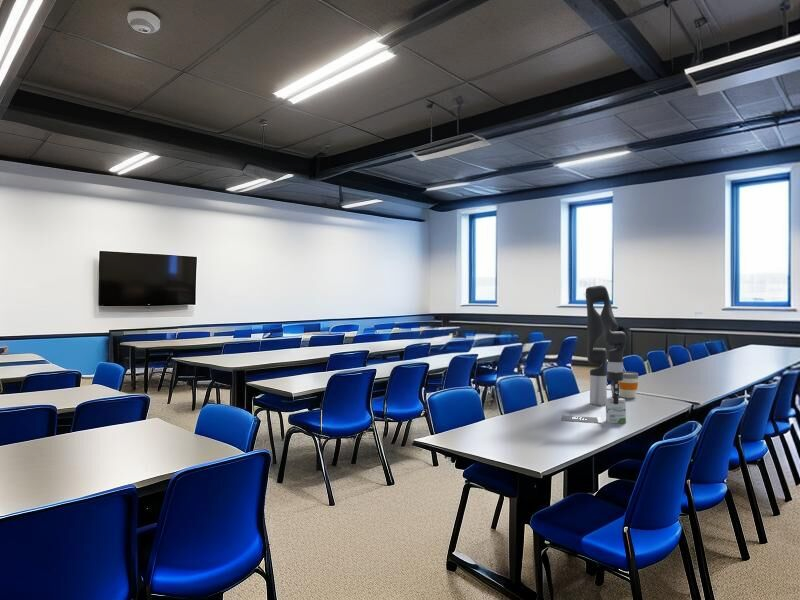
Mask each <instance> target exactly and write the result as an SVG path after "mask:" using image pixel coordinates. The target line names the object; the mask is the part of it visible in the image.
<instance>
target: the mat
mask: <svg viewBox="0 0 800 600" xmlns="http://www.w3.org/2000/svg"><path fill="white" fill-rule="evenodd" d="M573 416H574V415H565V414H562V415H561V421H562V420H565V421H564V422H574V421H581V422H580V423H588V422H594V423H593V424H603V423H602V418H601V417H600V416H598V417H593V416H580V415H579V416H580V417H582V418H581V420H580V419H579V418H580V417H578V419H572V417H573ZM576 418H577V417H576ZM583 418H584V420H582V419H583ZM585 419H587V420H585Z"/></svg>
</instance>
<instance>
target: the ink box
mask: <svg viewBox="0 0 800 600" xmlns="http://www.w3.org/2000/svg"><path fill="white" fill-rule="evenodd" d="M626 409H627V408H626V399H625V398H623V397H621V398H620V397H618V404H614V398H612V397H611V398H610V397H609V398H608V397H607V398H606V405H605V421H606V422H607V423H608V422H609V423H608V424H626V423H627V414H626V413H627V412H626V411H627V410H626Z"/></svg>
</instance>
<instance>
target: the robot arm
mask: <svg viewBox="0 0 800 600" xmlns="http://www.w3.org/2000/svg"><path fill="white" fill-rule="evenodd" d="M585 303H586V314H587V315H586V317H587V318H586V319H587V320H586V328H587V329H586V331H587V352H586V353H587V354H586V355H587V357H586V358H587V361H588V363H589V364H597V365H598V364H599V366H598V367H595V368H593V369H590V370H589V404H590V405H592V404H593V406H600V405H602V406H606V398H608V396H607V394H608V391H607V389H608V387H607V385H608V383H607V382H608V381H611V383H610V391H611V398H614V404H618V398H620V393H619V392H620V390H619V388H620V384H619V383H618V381H622V380H623V371H624V351H625V348H626V344H627V340H628V338H627V334H626V333H625V332H624V331H622V330H621V331H617V330H618V328H619V326H618V325H619V324H618V322H617V320H616V318H615V315H614V313H613V312H614V311H613V308H612V304H611V299H610V295H609V291H608V289H607V287H606V286H605V285H604V284H601V285H594V286H588V287H586V289H585ZM597 303H603V307H602V309H601V312H600V313H599V312H598V311H597V309H595V307H594V304H597ZM602 336H603V340H604V343H605V344H606V345H607V346H616V347H615V348H614V349H609V350H607V349H606V348H604V347H595V345H596V343H597V342H598V341H599V340H600V339H601V337H602ZM607 380H608V381H607Z"/></svg>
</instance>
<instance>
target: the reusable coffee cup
mask: <svg viewBox="0 0 800 600" xmlns="http://www.w3.org/2000/svg"><path fill="white" fill-rule="evenodd" d="M638 380H639V373H638V372H634V371H625V370H623V380H622V381H618V383H619V384H620V388H619V390H620V392H619V397H621V398H624V399H625V398H627V399H634V398H636V393H637V390H638V385H639V381H638Z"/></svg>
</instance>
